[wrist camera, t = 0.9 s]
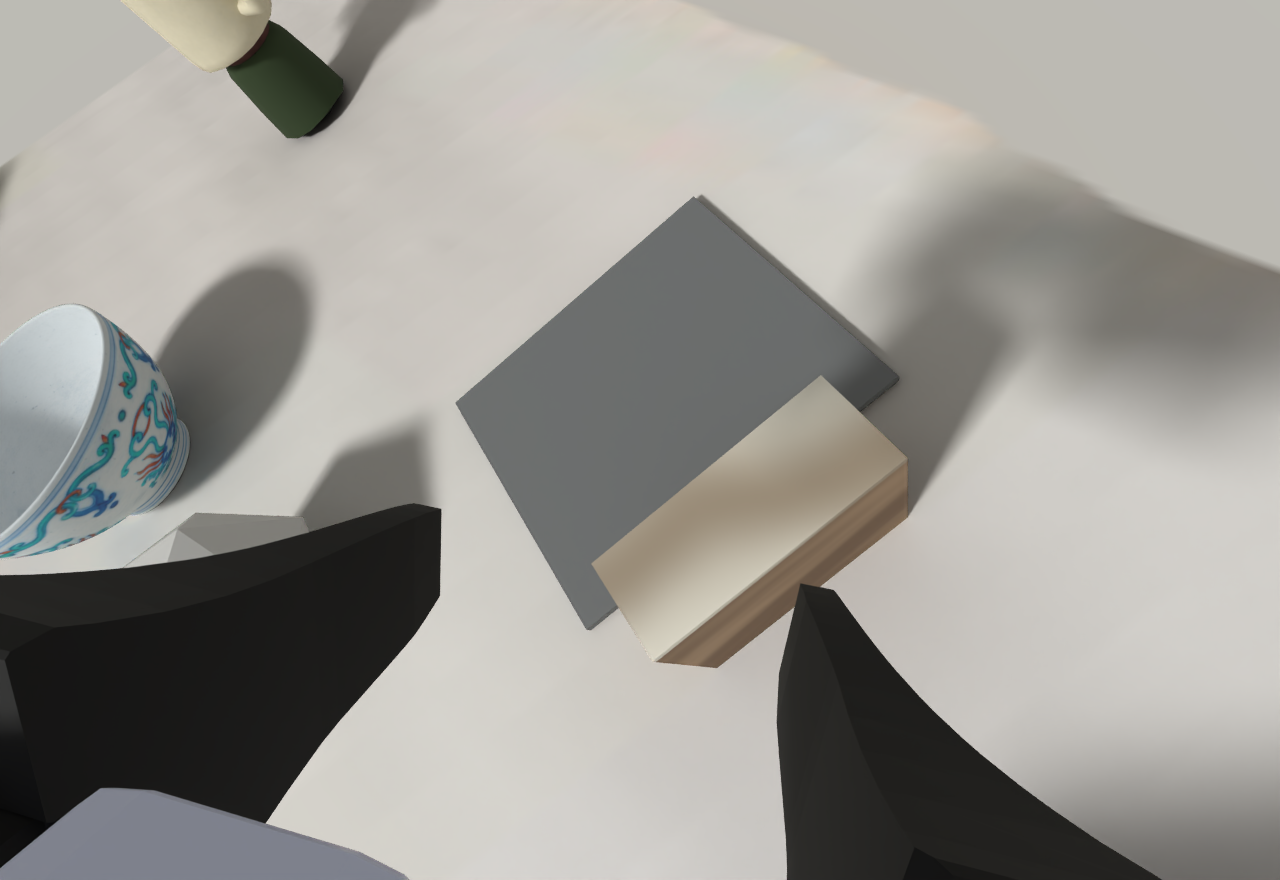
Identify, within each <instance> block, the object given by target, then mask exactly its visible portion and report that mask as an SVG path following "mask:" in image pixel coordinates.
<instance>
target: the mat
mask: <svg viewBox="0 0 1280 880" xmlns="http://www.w3.org/2000/svg"><path fill="white" fill-rule="evenodd" d="M820 375H821V376H822V377H823V378H825V379H826V380H827V381H828V382H829V383H830V384H831V385H832V386H833V387H834V388H835V389H836V390H837V391H838V392H839V393H840V394H841V395H842V396H843V397H844V398H845V399H847V400H848V401H849V402H850V403H851V404H852V405H853V406H854V407H855V408H856V409H857V410H858V411H859V412H860V411H862V410H863V409H864V408H865V407H866V406H868V405H869V404H870V403H871V402H873V401H874V400H875V399H876V398H878V397H879V396H880V395H881V394H882V393H884V392H885V391H886V390H887V389H889V388H890V387H891V386H892V385H894V384H895V383H896V382H897V381H898V380H899V376H898V375H897V374H896V373H895V372H894V371H893V370H891V369H890V368H889V367H888V366H887V365H886V364H885V363H883V362H882V361H881V360H880V359H879V358H878V357H877V356H875V355H874V354H873V353H872V352H871V351H870V350H869V349H867V348H866V347H865V346H864V345H863V344H862V343H861V342H859V341H858V340H857V339H856V338H855V337H854V336H853V335H851V334H850V333H849V332H848V331H847V330H846V329H845V328H843V327H842V326H841V325H840V324H839V323H838V322H837V321H835V320H834V319H833V318H832V317H831V316H830V315H829V314H827V313H826V312H825V311H824V310H823V309H822V308H821V307H819V306H818V305H817V304H816V303H815V302H814V301H813V300H811V299H810V298H809V297H808V296H807V295H806V294H805V293H803V292H802V291H801V290H800V289H799V288H798V287H797V286H795V285H794V284H793V283H792V282H791V281H790V280H789V279H787V278H786V277H785V276H784V275H783V274H782V273H781V272H779V271H778V270H777V269H776V268H775V267H774V266H773V265H771V264H770V263H769V262H768V261H767V260H766V259H765V258H763V257H762V256H761V255H760V254H759V253H758V252H757V251H755V250H754V249H753V248H752V247H751V246H750V245H749V244H747V243H746V242H745V241H744V240H743V239H742V238H741V237H739V236H738V235H737V234H736V233H735V232H734V231H733V230H731V229H730V228H729V227H728V226H727V225H726V224H725V223H723V222H722V221H721V220H720V219H719V218H718V217H717V216H715V215H714V214H713V213H712V212H711V211H710V210H709V209H707V208H706V207H705V206H704V205H703V204H702V203H701V202H699V201H698V200H697V199H696V198H695V197H694V196H693V197H692V198H691V199H690V200H689V201H688V202H687V203H685V204H684V205H683V206H682V207H681V208H680V209H678V210H677V211H676V212H675V213H674V214H673V215H672V216H670V217H669V218H668V219H667V220H666V221H665V222H663V223H662V224H661V225H660V226H659V227H658V228H657V229H655V230H654V231H653V232H652V233H651V234H650V235H648V236H647V237H646V238H645V239H644V240H643V241H642V242H640V243H639V244H638V245H637V246H636V247H635V248H633V249H632V250H631V251H630V252H629V253H628V254H626V255H625V256H624V257H623V258H622V259H621V260H620V261H618V262H617V263H616V264H615V265H614V266H613V267H611V268H610V269H609V270H608V271H607V272H606V273H605V274H603V275H602V276H601V277H600V278H599V279H598V280H596V281H595V282H594V283H593V284H592V285H591V286H590V287H588V288H587V289H586V290H585V291H584V292H583V293H581V294H580V295H579V296H578V297H577V298H576V299H575V300H573V301H572V302H571V303H570V304H569V305H568V306H566V307H565V308H564V309H563V310H562V311H561V312H560V313H558V314H557V315H556V316H555V317H554V318H553V319H551V320H550V321H549V322H548V323H547V324H546V325H545V326H543V327H542V328H541V329H540V330H539V331H538V332H536V333H535V334H534V335H533V336H532V337H531V338H530V339H528V340H527V341H526V342H525V343H524V344H523V345H521V346H520V347H519V348H518V349H517V350H516V351H514V352H513V353H512V354H511V355H510V356H509V357H508V358H506V359H505V360H504V361H503V362H502V363H501V364H499V365H498V366H497V367H496V368H495V369H494V370H493V371H491V372H490V373H489V374H488V375H487V376H486V377H484V378H483V379H482V380H481V381H480V382H479V383H478V384H476V385H475V386H474V387H473V388H472V389H471V390H469V391H468V392H467V393H466V394H465V395H464V396H463V397H461V398H460V399H459V400H458V401H457V402H456V405H457V407H458V408H459V410H460V412H461V414H462V415H463V417H464V419H465V420H466V422H467V424H468V426H469V427H470V429H471V431H472V433H473V434H474V436H475V438H476V439H477V441H478V443H479V445H480V446H481V448H482V450H483V452H484V453H485V455H486V457H487V458H488V460H489V462H490V464H491V465H492V467H493V469H494V471H495V472H496V474H497V476H498V478H499V479H500V481H501V483H502V484H503V486H504V488H505V490H506V491H507V493H508V495H509V497H510V498H511V500H512V502H513V503H514V505H515V507H516V509H517V510H518V512H519V514H520V516H521V517H522V519H523V521H524V523H525V524H526V526H527V528H528V529H529V531H530V533H531V535H532V536H533V538H534V540H535V542H536V543H537V545H538V547H539V548H540V550H541V552H542V554H543V555H544V557H545V559H546V561H547V562H548V564H549V566H550V567H551V569H552V571H553V573H554V574H555V576H556V578H557V580H558V581H559V583H560V585H561V587H562V588H563V590H564V592H565V593H566V595H567V597H568V599H569V600H570V602H571V604H572V606H573V607H574V609H575V611H576V612H577V614H578V616H579V618H580V619H581V621H582V623H583V625H584V626H585V628H586V630H592V629H593V628H594V627H595V626H597V625H598V624H599V623H600V622H602V621H603V620H604V619H605V618H606V617H608V616H609V615H610V614H611V613H613V612H614V611H615V610H616V609H618V608H619V607H618V606H617V604H616V603H615V601H614V599H613V598H612V596H611V595H610V593H609V591H608V590H607V588H606V586H605V585H604V583H603V582H602V580H601V578H600V577H599V575H598V574H597V572H596V570H595V569H594V567H593V566H592V564H591V563H593V562H594V561H595V560H596V559H598V558H599V557H600V556H601V555H602V554H604V553H605V552H606V551H607V550H608V549H610V548H611V547H612V546H613V545H615V544H616V543H617V542H618V541H619V540H621V539H622V538H623V537H624V536H625V535H627V534H628V533H629V532H630V531H632V530H633V529H634V528H635V527H636V526H638V525H639V524H640V523H641V522H643V521H644V520H645V519H646V518H647V517H649V516H650V515H651V514H652V513H653V512H655V511H656V510H657V509H658V508H660V507H661V506H662V505H663V504H664V503H666V502H667V501H668V500H669V499H671V498H672V497H673V496H674V495H675V494H677V493H678V492H679V491H680V490H681V489H683V488H684V487H685V486H686V485H688V484H689V483H690V482H691V481H692V480H694V479H695V478H696V477H697V476H699V475H700V474H701V473H702V472H703V471H705V470H706V469H707V468H708V467H709V466H711V465H712V464H713V463H714V462H716V461H717V460H718V459H719V458H720V457H722V456H723V455H724V454H725V453H727V452H728V451H729V450H730V449H731V448H733V447H734V446H735V445H736V444H737V443H739V442H740V441H741V440H742V439H744V438H745V437H746V436H747V435H748V434H750V433H751V432H752V431H753V430H755V429H756V428H757V427H758V426H759V425H761V424H762V423H763V422H764V421H765V420H767V419H768V418H769V417H770V416H772V415H773V414H774V413H775V412H776V411H778V410H779V409H780V408H781V407H783V406H784V405H785V404H786V403H787V402H789V401H790V400H791V399H792V398H793V397H795V396H796V395H797V394H798V393H800V392H801V391H802V390H803V389H804V388H806V387H807V386H808V385H809V384H810V383H812V382H813V381H814V380H815V379H817V378H818V377H819V376H820Z"/></svg>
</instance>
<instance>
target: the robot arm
mask: <svg viewBox="0 0 1280 880" xmlns="http://www.w3.org/2000/svg"><path fill="white" fill-rule="evenodd" d="M440 560H441V509H439V508H434V507H429V506H424V505H419V504H415V503H413V504H407V505H402V506H397V507H394V508H390V509H386V510H382V511H379V512H375V513H372V514H369V515H365V516H362V517H359V518H355V519H352V520H349V521H345V522H342V523H339V524H335V525H332V526H329V527H326V528H322V529H319V530H315V531H312V532H308V533H304V534H300V535H297V536H293V537H289V538H286V539H282V540H278V541H274V542H271V543H267V544H263V545H259V546H255V547H251V548H246V549H241V550H237V551H232V552H227V553H222V554H216V555H211V556H206V557H201V558H195V559H189V560H182V561H174V562H167V563H159V564H152V565H144V566H137V567H129V568H120V569H110V570H98V571H87V572H71V573H56V574H36V575H0V880H409V879H408V878H407V877H406V876H405V875H404V874H402V873H400V872H398V871H396V870H394V869H392V868H390V867H388V866H387V865H385V864H383V863H381V862H379V861H377V860H375V859H373V858H371V857H369V856H367V855H365V854H363V853H361V852H359V851H355V850H352V849H349V848H345V847H342V846H339V845H335V844H332V843H328V842H325V841H322V840H318V839H315V838H312V837H308V836H305V835H302V834H298V833H295V832H292V831H288V830H285V829H282V828H278V827H275V826H272V825H268V824H265V823H266V822H267V820H268V819H269V818H270V816H271V815H272V813H273V812H274V810H275V809H276V807H277V806H278V804H279V803H280V801H281V800H282V798H283V797H284V795H285V794H286V792H287V791H288V789H289V788H290V787H291V785H292V784H293V782H294V781H295V780H296V778H297V777H298V775H299V774H300V773H301V771H302V770H303V768H304V767H305V766H306V764H307V763H308V761H309V760H310V759H311V757H312V756H313V754H314V753H315V752H316V750H317V749H318V747H319V746H320V745H321V743H322V742H323V741H324V739H325V738H326V737H327V736H328V735H329V733H330V732H331V731H332V730H333V728H334V727H335V726H336V725H337V723H338V722H339V721H340V720H341V719H342V718H343V716H344V715H345V714H346V713H347V712H348V711H349V710H350V708H351V707H352V706H353V705H354V704H355V703H356V702H357V701H358V699H359V698H360V697H361V696H362V695H363V694H364V693H365V691H366V690H367V689H368V688H369V687H370V686H371V685H372V684H373V682H374V681H375V680H376V679H377V678H378V677H379V676H380V675H381V673H382V672H383V671H384V670H385V669H386V668H387V667H388V665H389V664H390V663H391V662H392V661H393V660H394V659H395V657H396V656H397V655H398V654H399V653H400V652H401V650H402V649H403V648H404V647H405V646H406V645H407V643H408V642H409V641H410V640H411V639H412V637H413V636H414V635H415V634H416V632H417V631H418V629H419V628H420V626H421V625H422V623H423V622H424V620H425V619H426V617H427V616H428V614H429V612H430V611H431V609H432V608H433V606H434V604H435V603H436V601H437V600H438V598H439V596H440ZM777 732H778V746H779V759H780V771H781V784H782V796H783V808H784V821H785V833H786V851H787V880H1162V879H1160V878H1158V877H1157V876H1155V875H1153V874H1152V873H1150V872H1149V871H1147V870H1145V869H1144V868H1142V867H1140V866H1139V865H1137V864H1135V863H1134V862H1132V861H1130V860H1129V859H1127V858H1126V857H1124V856H1122V855H1121V854H1119V853H1117V852H1116V851H1114V850H1112V849H1111V848H1109V847H1107V846H1106V845H1104V844H1102V843H1101V842H1099V841H1098V840H1096V839H1095V838H1093V837H1092V836H1090V835H1089V834H1087V833H1086V832H1084V831H1083V830H1082V829H1080V828H1079V827H1077V826H1076V825H1074V824H1073V823H1071V822H1070V821H1068V820H1067V819H1066V818H1064V817H1063V816H1061V815H1060V814H1058V813H1057V812H1055V811H1054V810H1052V809H1051V808H1050V807H1048V806H1047V805H1045V804H1044V803H1043V802H1041V801H1040V800H1039V799H1037V798H1036V797H1035V796H1033V795H1032V794H1030V793H1029V792H1028V791H1026V790H1025V789H1024V788H1022V787H1021V786H1020V785H1018V784H1017V783H1016V782H1015V781H1013V780H1012V779H1011V778H1010V777H1008V776H1007V775H1006V774H1005V773H1003V772H1002V771H1001V770H1000V769H998V768H997V767H996V766H995V765H993V764H992V763H991V762H990V761H988V760H987V759H986V758H985V757H984V756H982V755H981V754H980V753H979V752H978V751H976V750H975V749H974V748H973V747H972V746H971V745H970V744H968V743H967V742H966V741H965V740H964V739H963V738H962V737H961V736H959V735H958V734H957V733H956V732H955V731H954V730H953V729H952V728H951V727H950V726H949V725H948V724H947V723H946V722H945V721H944V720H942V719H941V718H940V717H939V716H938V715H937V714H936V713H935V712H934V711H933V710H932V709H931V708H930V707H929V706H928V705H927V704H926V703H925V702H924V701H923V700H922V699H921V698H920V697H919V696H918V695H917V693H916V692H915V691H914V690H913V689H912V688H911V687H910V686H909V685H908V684H907V682H906V681H905V680H904V679H903V678H902V677H901V676H900V675H899V674H898V672H897V671H896V670H895V669H894V668H893V667H892V665H891V664H890V663H889V662H888V661H887V659H886V658H885V657H884V656H883V655H882V653H881V652H880V651H879V650H878V648H877V647H876V646H875V645H874V643H873V642H872V641H871V639H870V638H869V637H868V636H867V634H866V633H865V632H864V630H863V629H862V628H861V626H860V625H859V624H858V622H857V621H856V619H855V618H854V617H853V615H852V614H851V613H850V611H849V610H848V609H847V607H846V606H845V604H844V603H843V602H842V600H841V599H840V597H839V596H838V595H837V594H836V592H835V591H834V590H831V589H826V588H821V587H816V586H811V585H807V584H802V583H800V587H799V591H798V595H797V600H796V604H795V608H794V612H793V617H792V621H791V625H790V629H789V634H788V638H787V642H786V646H785V651H784V655H783V659H782V663H781V668H780V672H779V685H778V705H777Z"/></svg>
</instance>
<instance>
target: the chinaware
mask: <svg viewBox="0 0 1280 880" xmlns="http://www.w3.org/2000/svg"><path fill="white" fill-rule="evenodd" d="M189 449H190V436H189V432H188V429H187V427H186V425H185V424H184V423H183V422H182V421H181V420H179V419H177V413H176V408H175V403H174V400H173V396H172V393H171V391H170V388H169V386H168V384H167V382H166V380H165V378H164V376H163V374H162V373H161V371H160V369H159V368H158V366H157V365H156V364H155V362H154V361H153V360H152V358H151V357H150V356H149V355H148V354H147V353H146V351H145V350H144V349H143V348H142V347H141V346H140V345H139V344H138V343H137V342H136V341H134V340H133V339H132V338H131V337H130V336H129V335H128V334H127V333H125V332H124V331H123V330H122V329H120V328H119V327H118V326H116V325H115V324H114V323H112V322H111V321H109V320H108V319H107V318H105V317H104V316H102V315H101V314H99V313H98V312H96V311H94V310H92V309H91V308H89V307H86V306H84V305H80V304H64V305H59V306H56V307H53V308H50V309H48V310H45V311H43V312H41V313H40V314H38V315H36V316H34V317H33V318H31V319H30V320H28V321H27V322H25V323H24V324H23V325H21V326H20V327H19V328H17V329H16V330H15V331H14V332H12V333H11V334H10V335H9V336H8V337H7V338H6V339H5V340H4V341H3V342H2V343H1V344H0V560H2V559H12V558H20V557H27V556H33V555H38V554H43V553H47V552H52V551H55V550H59V549H62V548H66V547H69V546H72V545H75V544H77V543H80V542H82V541H85V540H87V539H89V538H92V537H94V536H96V535H98V534H100V533H102V532H104V531H106V530H107V529H109V528H111V527H113V526H114V525H116V524H117V523H119V522H120V521H122V520H123V519H125V518H126V517H127V516H129V515H141V514H144V513H146V512H148V511H150V510H152V509H153V508H155V507H156V506H157V505H159V504H160V503H161V502H162V501H163V500H164V499H165V498H166V497H167V496H168V495H169V493H170V492H171V491H172V490H173V488H174V487H175V485H176V484H177V482H178V480H179V479H180V477H181V475H182V473H183V470H184V468H185V465H186V462H187V459H188V455H189Z"/></svg>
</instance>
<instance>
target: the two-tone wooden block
mask: <svg viewBox="0 0 1280 880" xmlns="http://www.w3.org/2000/svg"><path fill="white" fill-rule="evenodd" d="M907 517H908V458H907V457H906V456H905V455H904V454H903V453H902V452H901V451H900V450H899V449H898V448H897V447H896V446H895V445H894V444H893V443H892V442H891V441H889V440H888V439H887V438H886V437H885V436H884V435H883V434H882V433H881V432H880V431H879V430H878V429H877V428H876V427H875V426H874V425H873V424H872V423H871V422H870V421H869V420H867V419H866V418H865V417H864V416H863V415H862V414H861V413H860V412H859V411H858V410H857V409H856V408H855V407H854V406H853V405H852V404H851V403H850V402H849V401H848V400H847V399H845V398H844V397H843V396H842V395H841V394H840V393H839V392H838V391H837V390H836V389H835V388H834V387H833V386H832V385H831V384H830V383H829V382H828V381H827V380H826V379H825V378H823V377H822V376H821V375H820V376H819V377H818V378H817V379H815V380H814V381H813V382H812V383H810V384H809V385H808V386H807V387H806V388H804V389H803V390H802V391H801V392H800V393H798V394H797V395H796V396H795V397H793V398H792V399H791V400H790V401H789V402H787V403H786V404H785V405H784V406H783V407H781V408H780V409H779V410H778V411H776V412H775V413H774V414H773V415H772V416H770V417H769V418H768V419H767V420H765V421H764V422H763V423H762V424H761V425H759V426H758V427H757V428H756V429H755V430H753V431H752V432H751V433H750V434H748V435H747V436H746V437H745V438H744V439H742V440H741V441H740V442H739V443H737V444H736V445H735V446H734V447H733V448H731V449H730V450H729V451H728V452H727V453H725V454H724V455H723V456H722V457H720V458H719V459H718V460H717V461H716V462H714V463H713V464H712V465H711V466H709V467H708V468H707V469H706V470H705V471H703V472H702V473H701V474H700V475H699V476H697V477H696V478H695V479H694V480H692V481H691V482H690V483H689V484H688V485H686V486H685V487H684V488H683V489H681V490H680V491H679V492H678V493H677V494H675V495H674V496H673V497H672V498H671V499H669V500H668V501H667V502H666V503H664V504H663V505H662V506H661V507H660V508H658V509H657V510H656V511H655V512H653V513H652V514H651V515H650V516H649V517H647V518H646V519H645V520H644V521H643V522H641V523H640V524H639V525H638V526H636V527H635V528H634V529H633V530H632V531H630V532H629V533H628V534H627V535H625V536H624V537H623V538H622V539H621V540H619V541H618V542H617V543H616V544H615V545H613V546H612V547H611V548H610V549H608V550H607V551H606V552H605V553H604V554H602V555H601V556H600V557H599V558H598V559H596V560H595V561H594V562H593V563H591V564H592V566H593V567H594V569H595V570H596V572H597V574H598V575H599V577H600V578H601V580H602V582H603V583H604V585H605V586H606V588H607V590H608V591H609V593H610V595H611V596H612V598H613V599H614V601H615V603H616V604H617V606H618V607H619V609H620V611H621V612H622V614H623V615H624V617H625V619H626V620H627V622H628V623H629V625H630V627H631V628H632V630H633V632H634V633H635V635H636V636H637V638H638V640H639V641H640V643H641V644H642V646H643V648H644V649H645V651H646V652H647V654H648V656H649V657H650V659H651V661H652V662H661V663H671V664H681V665H692V666H702V667H712V668H718V667H719V666H720V665H721V664H723V663H724V662H725V661H726V660H728V659H729V658H730V657H731V656H733V655H734V654H735V653H737V652H738V651H739V650H740V649H742V648H743V647H744V646H745V645H747V644H748V643H749V642H750V641H752V640H753V639H754V638H756V637H757V636H758V635H759V634H761V633H762V632H763V631H764V630H766V629H767V628H768V627H769V626H771V625H772V624H773V623H775V622H776V621H777V620H778V619H780V618H781V617H782V616H783V615H785V614H786V613H787V612H788V611H790V610H791V609H792V608H794V607H795V604H796V600H797V595H798V591H799V587H800V583H802V584H807V585H811V586H816V587H820V586H821V585H823V584H824V583H825V582H826V581H828V580H829V579H830V578H832V577H833V576H834V575H835V574H837V573H838V572H839V571H840V570H842V569H843V568H844V567H845V566H847V565H848V564H849V563H850V562H852V561H853V560H854V559H856V558H857V557H858V556H859V555H861V554H862V553H863V552H864V551H866V550H867V549H868V548H869V547H871V546H872V545H873V544H875V543H876V542H877V541H878V540H880V539H881V538H882V537H883V536H885V535H886V534H887V533H888V532H890V531H891V530H892V529H894V528H895V527H896V526H897V525H899V524H900V523H901V522H902V521H904V520H905V519H906V518H907Z"/></svg>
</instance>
